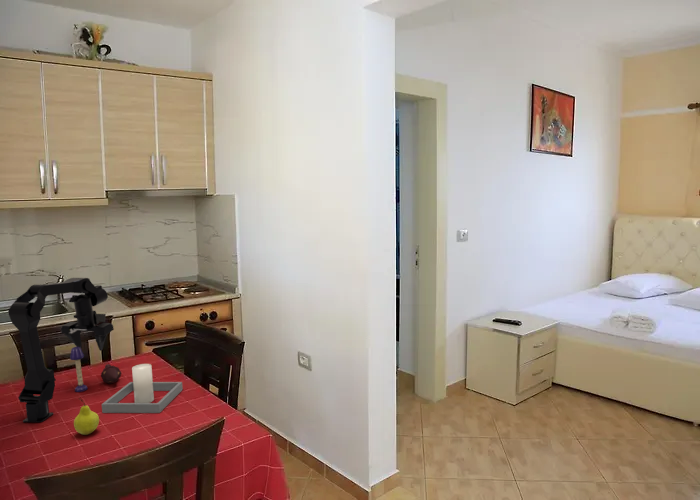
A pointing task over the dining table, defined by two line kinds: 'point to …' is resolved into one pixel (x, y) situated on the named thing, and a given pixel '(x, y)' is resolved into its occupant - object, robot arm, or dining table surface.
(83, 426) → the fruit
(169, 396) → the frame
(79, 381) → the toy lamp
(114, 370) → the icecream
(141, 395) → the white pillar candle
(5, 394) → the dining table surface
